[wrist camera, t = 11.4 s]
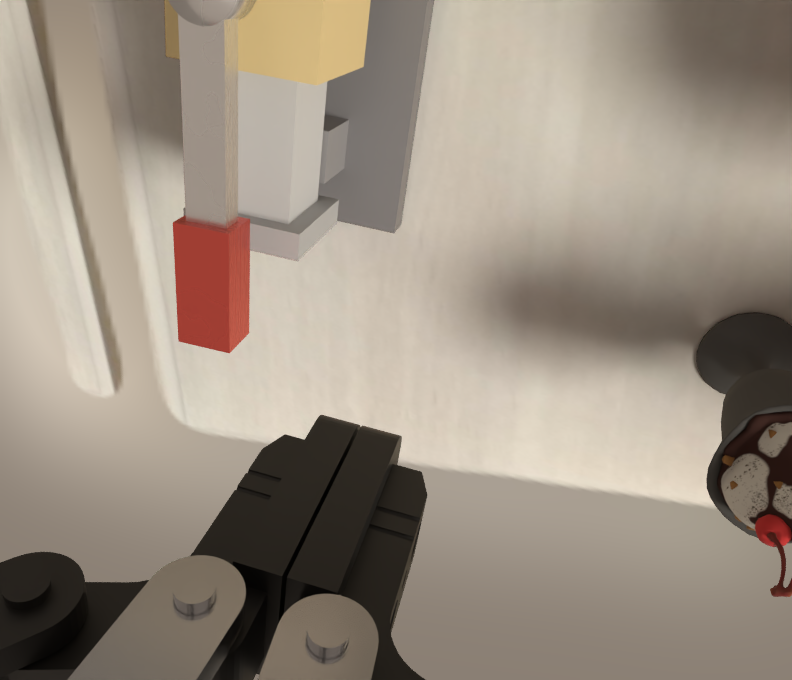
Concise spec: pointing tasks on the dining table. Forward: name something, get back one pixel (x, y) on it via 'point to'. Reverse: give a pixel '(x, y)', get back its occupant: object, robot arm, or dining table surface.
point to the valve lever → (211, 179)
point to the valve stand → (324, 115)
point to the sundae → (753, 427)
